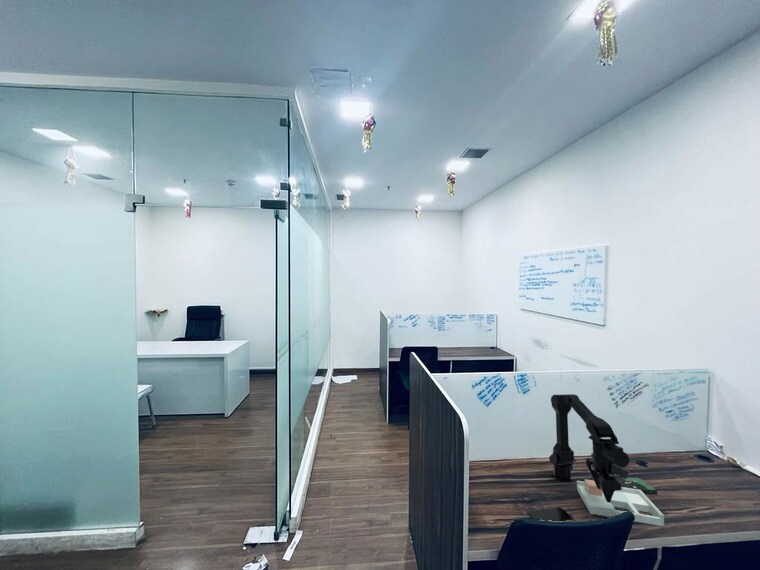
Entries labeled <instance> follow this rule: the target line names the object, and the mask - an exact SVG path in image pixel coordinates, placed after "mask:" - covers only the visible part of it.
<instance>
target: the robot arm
mask: <svg viewBox="0 0 760 570" xmlns="http://www.w3.org/2000/svg"><path fill="white" fill-rule="evenodd" d="M550 402H551V408H552V409H553V410H554V412H555V428H556V429H555V430H556V443H555V444H554V446H553V448H552V454H550V455H549V457H548V458H549V459H548V460H549V463H551V464H552V466H553V467H552V468H553V471H552V476H553V477H554V479H555V480H556V481H557V480H558V481H565V482H571V481H572V480H571V479H572V475H571V473H572V472H571V468H570V467H573V464H574V460H575V459H576V458H575V452H574V450H572V448H571V447H570V445H569V444H570V443H569V441H570V440H569V419H568V417H569V415H568V414H569V413H570V412H571V410H572V409H573V411H574V412H576V414H577V415H578V416H579V417H580V419H581V420H583V423H585V428H586V430H587V431H588V433H589V434H590V435H589V436H588V439H589V440H591V441H592V442H591V443H592V453H590V456H591V457H592V458H591V457H588V458H586V460H585V465H586V466H587V470H588V471H589V473H590V476H591V477H592V480H593V481H594V482H595V484H596V486H597V488H598V489H602V492H603V494H604V497H605V499H606V501H607V502H608V503H610V502H611V499H612V496H613V493H614V491H616V490H617V491H619V490H622V486H621V483H620V482H619V481H618V480H617V479H616V478H615V477H616V476H618V477H623V478H624V479H627V477H629V474H630V471H629V469H627V466H628V465H629V463H630V457H629V455H628V454H627V453H626V452H625V451H624V448H623V447H622V446H618V445H619V444H620V442H619V440H618V437H617V436H616V434H615V433H614V430H613V428H612V426H611V425H610V423H608V422H607V421H605V420H604V419H603V418H601V417H598V416H596V415H595V413H593V412H592V411H591V410H590V409H589V408H588V407H587V406H586V404H584V402H583V401H582V400H581V399H580V397H579V396H578V395H577V394H553V395H551V397H550Z"/></svg>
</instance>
